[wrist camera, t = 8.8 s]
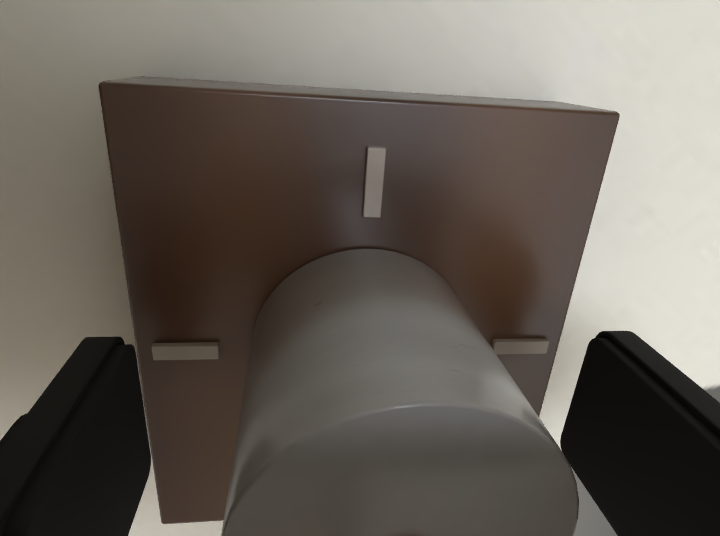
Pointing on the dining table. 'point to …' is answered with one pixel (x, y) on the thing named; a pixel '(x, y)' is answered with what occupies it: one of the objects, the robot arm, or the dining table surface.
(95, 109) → the dining table surface
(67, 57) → the dining table surface
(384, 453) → the knob
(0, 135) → the dining table surface
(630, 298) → the dining table surface
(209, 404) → the dial panel
